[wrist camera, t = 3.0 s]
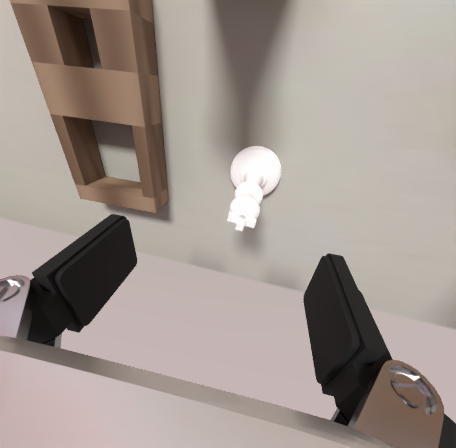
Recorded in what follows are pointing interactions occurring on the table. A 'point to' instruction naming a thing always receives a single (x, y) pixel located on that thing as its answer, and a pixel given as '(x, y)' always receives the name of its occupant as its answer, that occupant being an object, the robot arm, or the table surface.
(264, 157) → the chess piece
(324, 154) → the table surface
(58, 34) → the socket plate
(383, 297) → the table surface
